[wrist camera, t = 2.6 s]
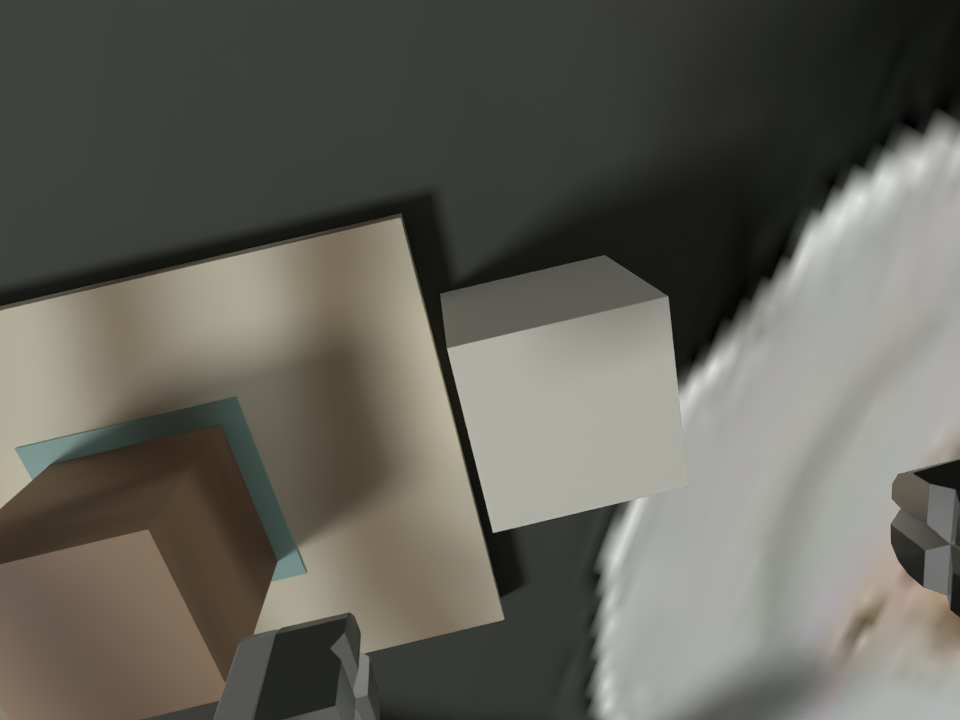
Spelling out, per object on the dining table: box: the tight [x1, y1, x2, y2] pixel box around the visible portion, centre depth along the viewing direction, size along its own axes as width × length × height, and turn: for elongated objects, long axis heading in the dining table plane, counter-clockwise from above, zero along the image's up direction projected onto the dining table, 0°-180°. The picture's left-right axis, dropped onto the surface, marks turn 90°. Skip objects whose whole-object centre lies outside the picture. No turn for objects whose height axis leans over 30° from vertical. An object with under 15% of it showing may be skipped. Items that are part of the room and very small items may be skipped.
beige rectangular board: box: [0, 213, 504, 720], centre depth 19 cm, size 18×14×1 cm
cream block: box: [440, 255, 688, 533], centre depth 17 cm, size 5×5×5 cm
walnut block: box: [0, 424, 278, 720], centre depth 16 cm, size 5×5×5 cm
